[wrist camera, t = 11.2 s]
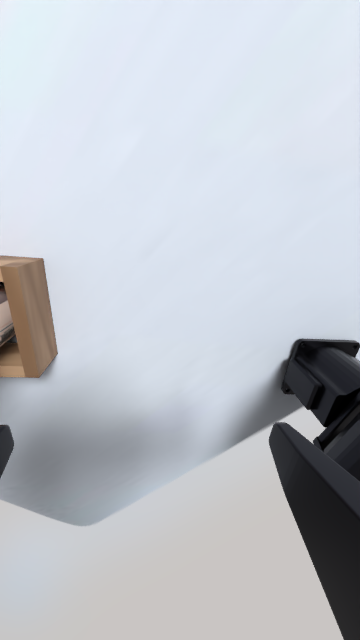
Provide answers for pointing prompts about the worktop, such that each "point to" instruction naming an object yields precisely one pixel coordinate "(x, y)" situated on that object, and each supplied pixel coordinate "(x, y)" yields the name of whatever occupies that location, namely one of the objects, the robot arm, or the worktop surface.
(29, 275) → the socket block
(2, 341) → the beer can
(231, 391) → the worktop surface
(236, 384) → the worktop surface
